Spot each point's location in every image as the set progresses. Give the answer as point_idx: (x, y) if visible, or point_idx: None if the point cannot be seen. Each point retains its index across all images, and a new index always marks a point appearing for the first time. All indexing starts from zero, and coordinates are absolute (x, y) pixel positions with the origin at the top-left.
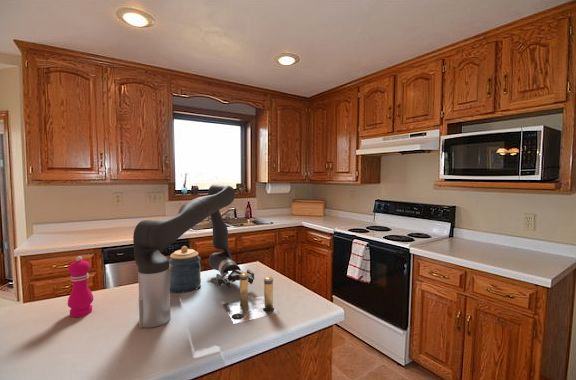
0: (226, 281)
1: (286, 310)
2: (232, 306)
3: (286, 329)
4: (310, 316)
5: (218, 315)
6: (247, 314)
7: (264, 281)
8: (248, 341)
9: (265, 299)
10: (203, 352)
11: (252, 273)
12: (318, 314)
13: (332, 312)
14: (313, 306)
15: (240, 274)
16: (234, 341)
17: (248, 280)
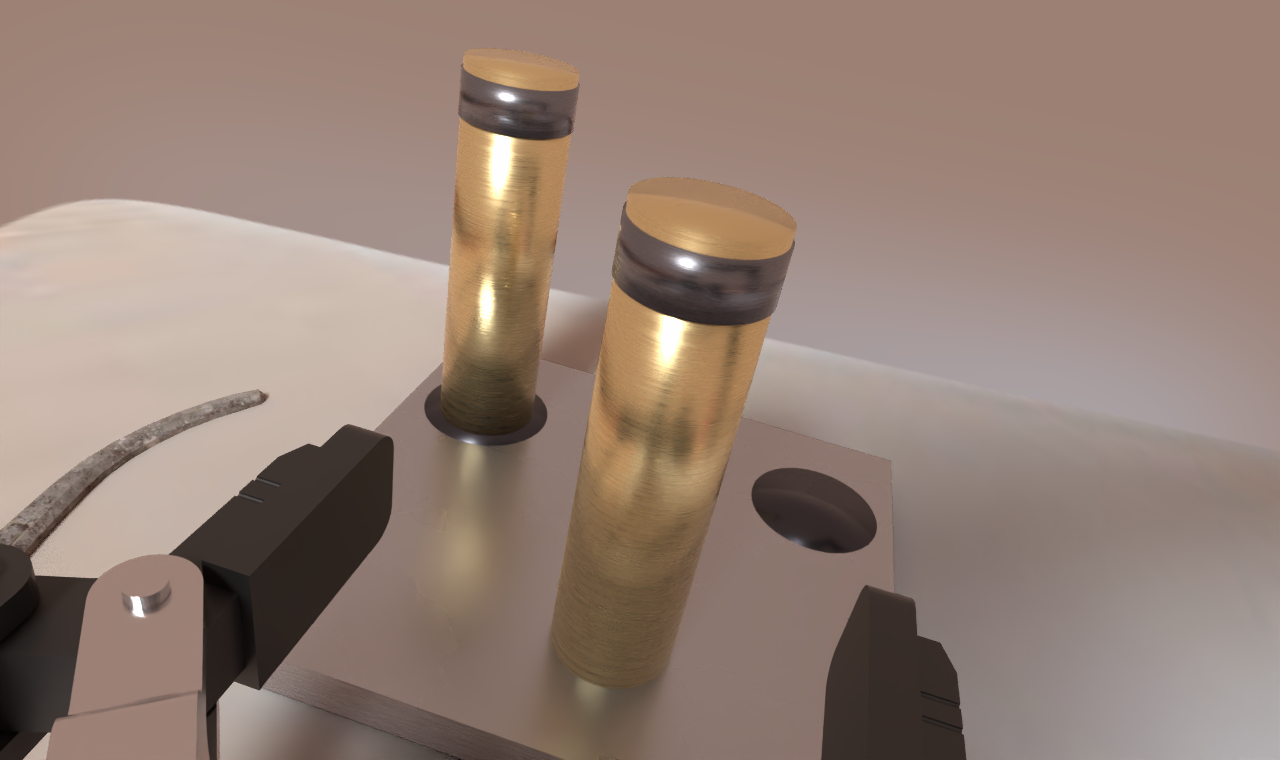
0: (920, 731)
1: (334, 370)
2: (781, 697)
3: (571, 295)
4: (315, 261)
5: (981, 741)
6: None
7: (574, 107)
8: (839, 362)
9: (546, 305)
10: (1126, 448)
11: (3, 569)
12: (251, 242)
13: (165, 207)
14: (121, 280)
15: (773, 231)
16: (920, 404)
17: (301, 606)
